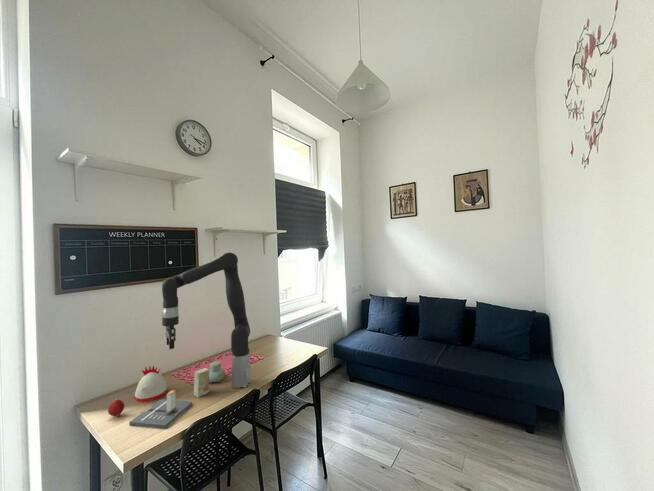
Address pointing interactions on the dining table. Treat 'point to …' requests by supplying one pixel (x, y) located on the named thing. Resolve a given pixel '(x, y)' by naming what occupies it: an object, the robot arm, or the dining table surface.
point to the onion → (116, 408)
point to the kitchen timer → (150, 386)
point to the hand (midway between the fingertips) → (170, 346)
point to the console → (160, 415)
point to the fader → (170, 402)
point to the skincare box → (201, 382)
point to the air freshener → (216, 372)
